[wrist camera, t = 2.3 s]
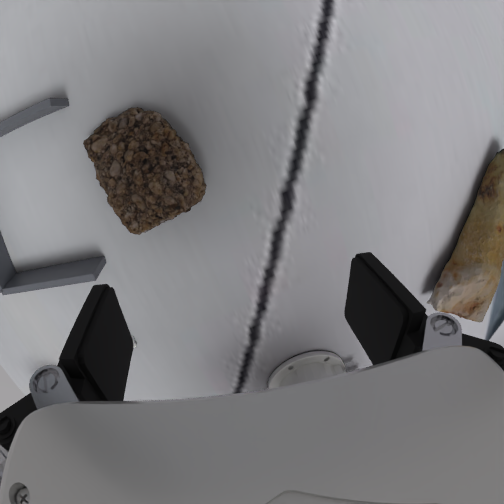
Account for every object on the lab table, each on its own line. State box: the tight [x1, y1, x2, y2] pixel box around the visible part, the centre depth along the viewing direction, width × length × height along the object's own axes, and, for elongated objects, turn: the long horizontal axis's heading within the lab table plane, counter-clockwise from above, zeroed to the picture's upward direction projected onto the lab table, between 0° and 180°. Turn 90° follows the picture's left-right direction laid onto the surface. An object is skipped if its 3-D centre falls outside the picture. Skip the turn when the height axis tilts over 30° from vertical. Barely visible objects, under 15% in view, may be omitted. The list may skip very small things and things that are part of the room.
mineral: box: [427, 149, 504, 322], centre depth 32 cm, size 26×9×10 cm
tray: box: [0, 98, 106, 295], centre depth 24 cm, size 15×19×4 cm
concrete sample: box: [83, 107, 206, 235], centre depth 25 cm, size 12×10×5 cm
